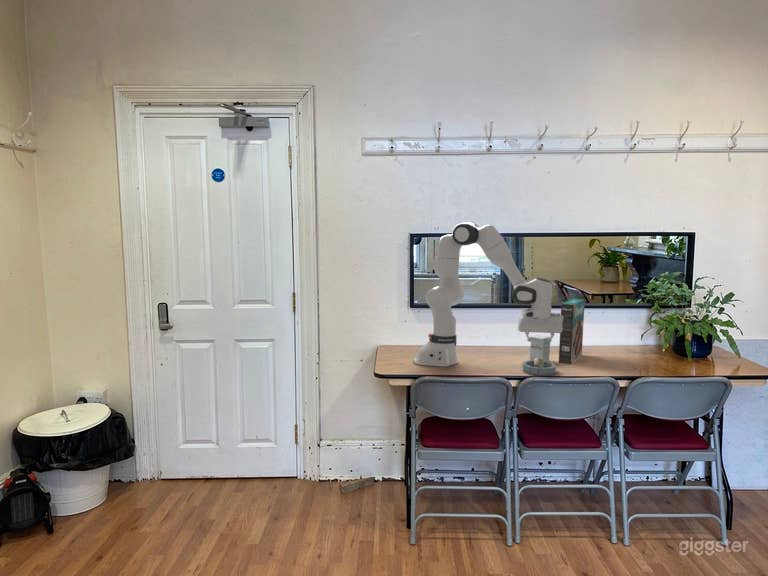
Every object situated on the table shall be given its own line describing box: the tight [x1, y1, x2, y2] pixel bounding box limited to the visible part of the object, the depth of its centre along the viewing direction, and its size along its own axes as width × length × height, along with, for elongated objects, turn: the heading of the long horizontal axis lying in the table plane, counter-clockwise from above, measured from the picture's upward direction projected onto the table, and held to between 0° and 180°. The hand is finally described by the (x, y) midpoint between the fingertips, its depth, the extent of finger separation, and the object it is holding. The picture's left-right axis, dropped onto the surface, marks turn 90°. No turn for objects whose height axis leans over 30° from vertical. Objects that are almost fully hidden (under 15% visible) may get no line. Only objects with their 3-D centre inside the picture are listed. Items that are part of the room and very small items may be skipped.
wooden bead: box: [534, 358, 544, 368], centre depth 252 cm, size 4×4×5 cm
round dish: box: [521, 359, 557, 377], centre depth 253 cm, size 15×15×4 cm
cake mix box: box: [558, 298, 586, 365], centre depth 275 cm, size 22×6×30 cm, turn 146°
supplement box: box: [529, 334, 551, 362], centre depth 272 cm, size 7×7×13 cm
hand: (539, 341), depth 251 cm, fingers open, 8 cm apart
